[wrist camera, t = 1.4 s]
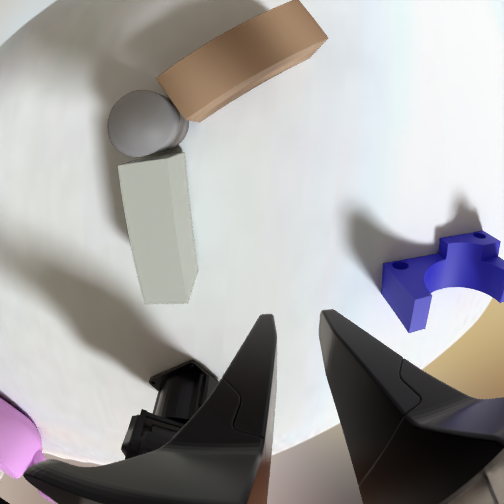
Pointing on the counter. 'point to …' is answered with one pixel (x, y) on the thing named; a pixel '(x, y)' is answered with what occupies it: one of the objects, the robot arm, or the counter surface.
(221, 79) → the hinge base
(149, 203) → the hinge leaf
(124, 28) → the counter surface
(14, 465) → the teapot
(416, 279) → the cable clip
